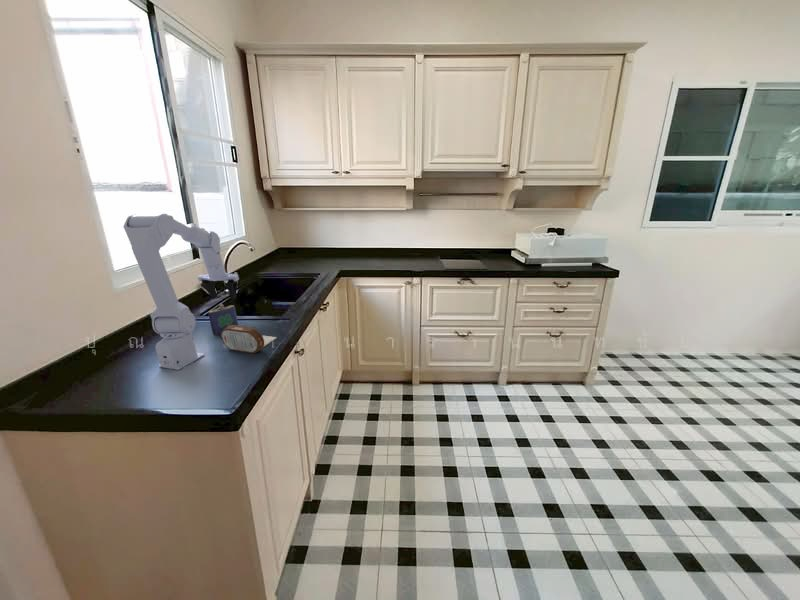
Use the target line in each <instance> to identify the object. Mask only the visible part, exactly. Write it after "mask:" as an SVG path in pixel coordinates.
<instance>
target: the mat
mask: <svg viewBox="0 0 800 600" xmlns="http://www.w3.org/2000/svg"><path fill="white" fill-rule="evenodd" d="M261 335H262V336H263V339H264V346H263V348H264V347H265V346H267V345H268V344H271V343H272V342H273V341H275V340H276V339H277V337H276V336H268V335H263V334H261Z"/></svg>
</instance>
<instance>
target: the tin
mask: <svg viewBox="0 0 800 600" xmlns="http://www.w3.org/2000/svg"><path fill="white" fill-rule="evenodd" d="M262 335H263V334H262V333H261V332H260V331H259V330H258V329H257V328H254V327H250V326H246V325H245V326H242V325H239V326H237V325H229V326H228V327H226V328H225V329H223V330H222V332H221V335H220V337H221V340H222V343H223V344H224V346H226V348H228V349H229V350H231V351H234V352H235V351H236V352H243V353H249V354H255V353H257V352H259V351H260V350H262V349H263V348H264V347H265V346H264V339H263V336H264V335H263V336H262ZM263 346H264V347H263Z"/></svg>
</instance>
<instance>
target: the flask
mask: <svg viewBox="0 0 800 600" xmlns="http://www.w3.org/2000/svg"><path fill="white" fill-rule="evenodd" d="M207 315H208V319H209V324H210V327H211V332H212V335H213V336H221V332H222V330H223V329H225V328H226V327H228V326H229V325H237V326H240V325H239V321H238V316H237V312H236V307H235V305H232V304H231V305H228V306H226V307H225V305H224V304H223V303H220V304H219V306H218V307H217V308H215V309H211V310H209V311H208V312H207Z"/></svg>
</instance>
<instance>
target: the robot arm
mask: <svg viewBox="0 0 800 600" xmlns="http://www.w3.org/2000/svg"><path fill="white" fill-rule="evenodd" d="M122 227H123V229H124V231H125V234H126V236H127V238H128V241H129V243H130V246H131V249H132V253H133V255H134V257H135V260H136V262H137V264H138V267H139V269H140V271H141V273H142V277H143V278H144V280H145V283H146V285H147V288H148V290H149V293H150V295H151V297H152V300H153V301H154V304H155V306H156V307H154V309H153V310H152V311H151V313H150V314H149V316H150V318H151V325H152V329H153V331H154V332H155V333H156V334H158V335H160V338H162V339H160V341H158V342H157V343H156V344H155V346H154V348H155V352H156V355H157V359H158V361H159V365H158V367H159V368H165V369H171V370H174V371H175V370H177V371H178V370H181V369H183V368H184V367H186V366H188V365H190V364H192V363H193V362H195V361H197V360H199V359H201V358H203V357H204V356H205V353H202V352H198V351H197V349H196V344H195V341H194V336H193V331H194V329H195V327H196V323H197V321H196V316H195V315H194V314H193V313H192V312H191V310H190V308H189V306H187V305H186V304H184V303H182V302H180V301H179V299H178V297H177V295H176V293H175V292H176V291H175V289H174V287H173V284H172V282H171V280H170V276H169V274H168V271H167V269H166V266H165V264H164V261H163V258H162V257H161V254H160V249H161V248H164V247H165V245H166V244H167V243H168V241H169V240H171V238H172V236H173V235H178V236H180V237H181V239H182V240H183V241H184V242H188V243H190V244H193V245H194V247H195V248H197V249H200V250H199V251H200V253H201V257H202V259H203V263H204V265H205V269H206V272H207V274H200V275H198V276H197V280H198V282H201V283H200V287H202V288H204V290H205V291H206V292H207V293H208V294H209V296H210V297H211V298H212V300H215V299H216V298H218V293H217V289H216V285H215V281H216V282H218V281H220V282H221V281H222V282H223V281H225V282H226V283H224V286H225V287H226V289H227V290H228V293H229V296H230V298H231V300H234V299H236V298H237V289H238V288H237V286H238V283H239V280H240V277H239V274H235V273H228V272H226V269H225V265H224V262H223V259H222V255H221V252H220V251H221V246H220V244H221V238H220V236H219V235H218V233H216V232H215V231H211V230H210V231H207V230H206V229H205V228H204V227H202V228H201V227H199V226H197V224H196V223H189V224H184V223H182V222H180V221H178V220H176V219H174V216H172V215H169V214H167V213H164V212H163V213H159V214H158V213H157V214H155V213H154V214H130V215H128V216H127V218H126V220H125V222H124V224H123V226H122Z"/></svg>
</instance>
